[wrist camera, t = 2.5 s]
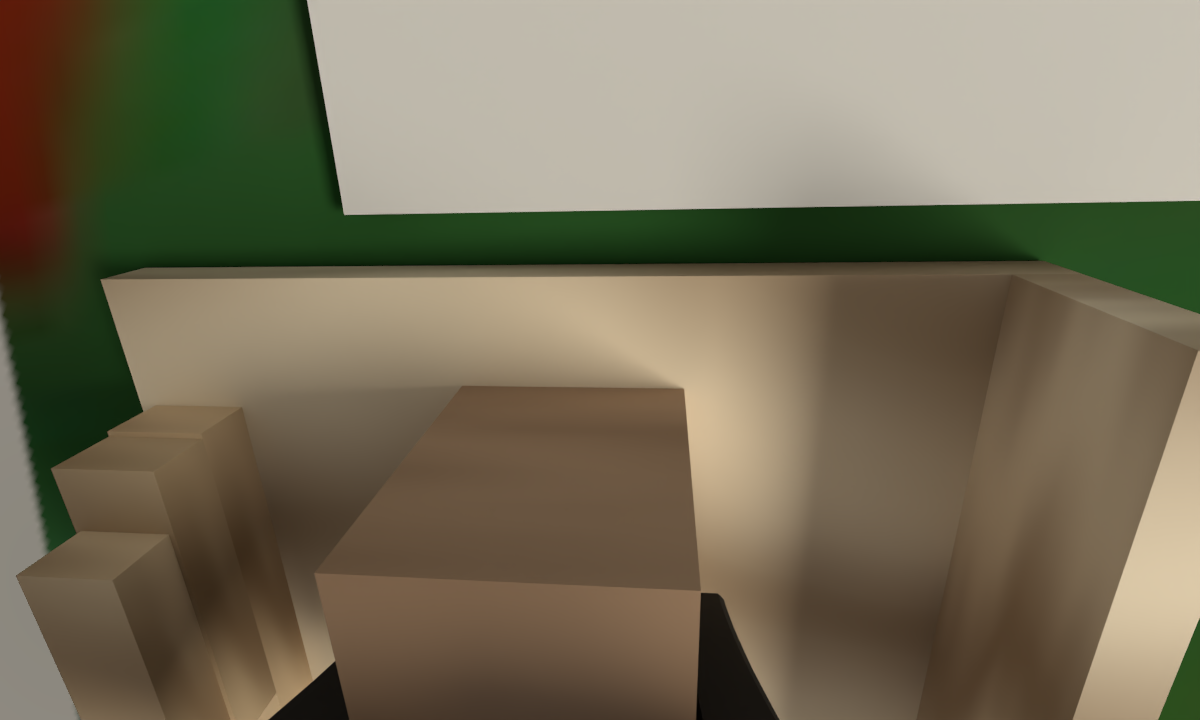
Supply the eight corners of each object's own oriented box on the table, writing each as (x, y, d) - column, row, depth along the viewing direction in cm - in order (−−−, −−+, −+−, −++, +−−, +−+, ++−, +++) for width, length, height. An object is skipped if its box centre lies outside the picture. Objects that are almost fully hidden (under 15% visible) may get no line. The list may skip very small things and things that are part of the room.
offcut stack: (313, 680, 14) (214, 834, 11) (240, 675, 14) (124, 825, 11) (241, 406, 12) (90, 506, 9) (155, 405, 12) (-24, 502, 9)
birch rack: (927, 760, 14) (1036, 1018, 10) (276, 714, 16) (140, 919, 12) (1043, 261, 10) (1307, 350, 6) (144, 267, 12) (-138, 342, 8)
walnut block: (676, 720, 13) (683, 1034, 9) (500, 708, 14) (416, 1002, 9) (683, 388, 11) (701, 591, 6) (461, 385, 11) (314, 572, 6)
